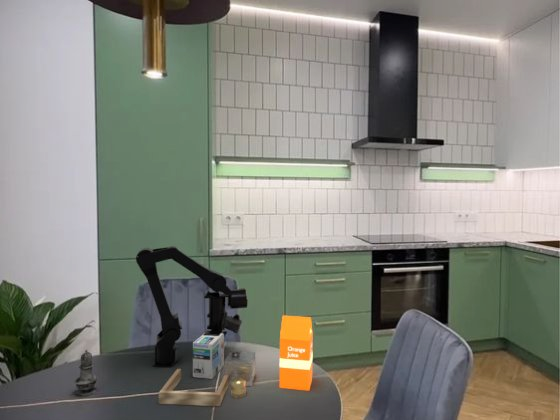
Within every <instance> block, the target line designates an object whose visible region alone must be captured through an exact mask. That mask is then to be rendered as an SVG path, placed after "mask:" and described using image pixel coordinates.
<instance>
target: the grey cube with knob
mask: <svg viewBox="0 0 560 420" xmlns="http://www.w3.org/2000/svg"><path fill="white" fill-rule="evenodd" d="M256 361H257V360H256V351H240V350H239V351H237V350H236V351H235V350H234V351H233V350H230V351H229V352H228V355H227V356H226V358H225V359H224V375H229V386H231V380H232V379H233V378H236V377H242V378H245V379H246V387H252V386H253V383H254V379H255V376H256V369H257V367H256Z"/></svg>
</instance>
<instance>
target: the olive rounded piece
mask: <svg viewBox="0 0 560 420" xmlns="http://www.w3.org/2000/svg"><path fill="white" fill-rule="evenodd" d="M230 386H231V391H230V393H231V394H230V396H231V395H232V396H231V397H232V398H234V399H242V398H244V397H246V394H247V392H246V389H247V386H246V379H245V378H242V377H236V378H233V379H232V380H231V385H230Z"/></svg>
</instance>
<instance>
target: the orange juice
mask: <svg viewBox="0 0 560 420" xmlns="http://www.w3.org/2000/svg"><path fill="white" fill-rule="evenodd" d="M281 319H282V320H281V326H280V334H279V336H280V337H279V388H280V389H289V390H290V389H291V390H299V391H310V389H311V385H312V380H313V357H314V356H313V340H314V339H313V327H312V326H313V324H312V317H310V316H297V315H296V316H295V315H282V317H281Z"/></svg>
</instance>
